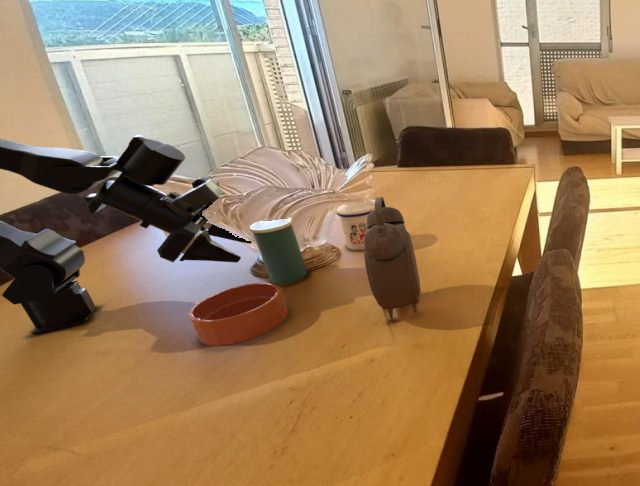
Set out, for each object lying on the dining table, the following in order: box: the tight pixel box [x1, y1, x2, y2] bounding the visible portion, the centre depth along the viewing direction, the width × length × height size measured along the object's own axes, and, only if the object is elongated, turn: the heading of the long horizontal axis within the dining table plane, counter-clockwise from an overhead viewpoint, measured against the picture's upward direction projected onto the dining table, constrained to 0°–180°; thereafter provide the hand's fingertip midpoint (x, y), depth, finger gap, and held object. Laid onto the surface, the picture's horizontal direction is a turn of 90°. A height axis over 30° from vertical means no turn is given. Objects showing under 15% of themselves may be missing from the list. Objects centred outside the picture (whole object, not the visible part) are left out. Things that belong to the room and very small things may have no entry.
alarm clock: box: [363, 196, 421, 323], centre depth 80 cm, size 15×7×20 cm, turn 23°
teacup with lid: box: [336, 198, 375, 251], centre depth 109 cm, size 12×9×12 cm
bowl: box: [187, 282, 289, 347], centre depth 78 cm, size 12×12×5 cm
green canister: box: [249, 217, 308, 285], centre depth 93 cm, size 7×7×12 cm
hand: (246, 250), depth 90 cm, fingers open, 9 cm apart
